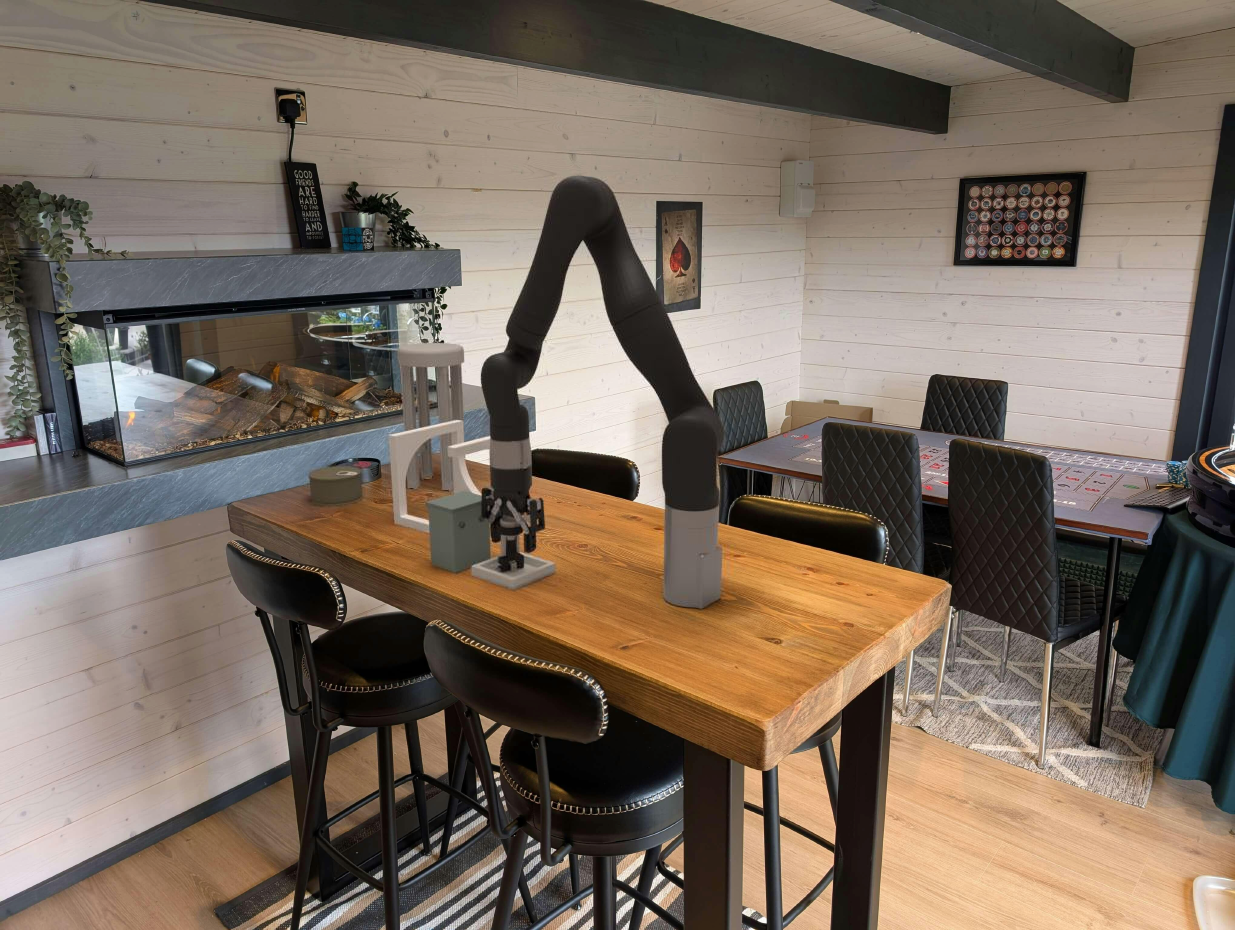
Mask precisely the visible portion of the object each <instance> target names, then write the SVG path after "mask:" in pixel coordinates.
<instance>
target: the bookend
mask: <svg viewBox="0 0 1235 930" xmlns="http://www.w3.org/2000/svg"><path fill="white" fill-rule="evenodd" d="M450 432H451V439H452V446H448V447H447V448H448V456H449V457H452V461H453V482H454V489H453V494H455V493H459V492H462V491H466V492H470V493H474V494H478V495H481V491H479V489H478V488H477V487H476V485H475V484H474V482H473V480H472V478H471V476H470V474H469V471H468V467H467V464H466V463H467V462H466V455H470V454H473V453H478V452H482V451H486V450H489V449H490V435H489V436H485V437H480V438H477V439H472V440H469V441H465V442H464V439H465V429H464V430H463V421H461V420H454V421H452V420H451V421H450V422H445V423H441V424H439V423H437V424H432V425H430V426H427V427H423V428H419V427H418V428H417V429H414V430H409V431H405V432H404V431H402V432H398V433H397V432H396V433H391V434H388V444H389V446H388V447H389V457H390V461H389V463H390V475H391V476H390V477H391V489H392V490H391V491H392V504H393V507H392V508H393V519H394V520H393V521H394V524H395V525H397V526H401V525H402V527H406V528H408V527H410V528H409V529H412V528H413V529H412V530H415V529H416V530H415V531H420V532H423V533H426V534H429V535H430V532H429V519H425V518H422V517H418V516H415V515H414V516H413V515H411V514H408V506H407V505H408V504H407V492H406V491H407V490H406V481H407V470H408V466H409V464H410V461H411V459H412V457H413V455H414V454H415V452H416V451H417V449H418V448H419V447H420V446H421V445H422V444H423V443H424V442H425V441H427V440H428V439H430V438H431V439H432V438H434V437H437V436H440V435H442V434H446V433H450ZM465 462H466V463H465ZM495 504H496V502H495ZM524 515H525V514H524ZM524 515H522V517H524ZM504 516H505V515H504Z"/></svg>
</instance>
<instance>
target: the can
mask: <svg viewBox="0 0 1235 930" xmlns="http://www.w3.org/2000/svg"><path fill="white" fill-rule="evenodd" d="M308 479H309V488H310V496H311V503H312V504H313V505H314V504H315V505H314V506H317V505H319V506H318V507H323V506H328V507H327V508H333V507H332V506H338V507H344V506H343V505H345V506H348V505H347V504H350V505H353V503H354V504H356V503H355V502H357V501H359V502H360V501H362V500H363V492H362V491H363V490H362V489H363V488H362V470H361V468H359V467H356V466H349V465H337V466H336V465H334V466H326V467H319V468H317V469H314V470H311V471H310V472H308ZM357 503H358V502H357ZM330 506H331V507H330Z"/></svg>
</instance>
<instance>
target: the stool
mask: <svg viewBox="0 0 1235 930" xmlns="http://www.w3.org/2000/svg"><path fill="white" fill-rule="evenodd" d="M396 350H397V363H398V364H399V367H400V382H401V383H400V385H401V400H402V416H403V417H402V418H403V432H405V431H409V430H414V429H418V428H423V427H427V426H431V413H430V412H431V411H430V394H429V391H430V390H429V374H428V373H429V372H428V368H435V370H436V371H435V372H436V388H437V389H436V390H437V391H436V392H437V412H438V424H441V423H445V422H450V421H454V420H461V421H463V430H464V431H465V420H464V417H465V416H464V402H463V401H464V399H463V397H464V396H463V395H464V393H463V375H462V374H463V373H462V371H463V370H462V369H463V368H462V364H464V363H465V349H464V346H462V345H460V344H456V343H448V342H444V343H443V342H426V343H425V342H424V343H423V342H422V343H421V342H419V343H412V344H404V345H402V346H398V347H397V349H396ZM414 368H415V369H414ZM414 371H415V375H414ZM415 387H416V392H415ZM415 393H416V397H415ZM416 402H417V403H416ZM416 405H417V410H416ZM416 411H417V413H416ZM417 420H418V421H417ZM417 422H418V423H417ZM417 424H418V428H417ZM465 440H466V439H465V438H464V442H466V441H465ZM448 446H452V439H451V432H450V433H446V434H442V435H439V450H440V470H441V471H440V472H441V490H449V491H448V492H452V491H454V489H453V488H454V482H453V461H452V457H449V456H448V448H447V447H448ZM419 456H420V465H419ZM465 463H467V462H466V461H465ZM433 470H434V469H433V450H432V438H430V439H428V440H427V441H425V442H424V443H423V444H422V445H421V446H420V447H419V448H418V449H417V451H416V452H415V454H414V455H413V457H412V459H411V461H410V464H409V466H408V470H407V474H406V481H407V489H408V488H418V487H419V486H420V487H421V484H420V474H421V479H422V478H431V477H432V476H433V477H434V471H433ZM420 487H419V488H420ZM419 488H418V489H419ZM451 490H452V491H451Z"/></svg>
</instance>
